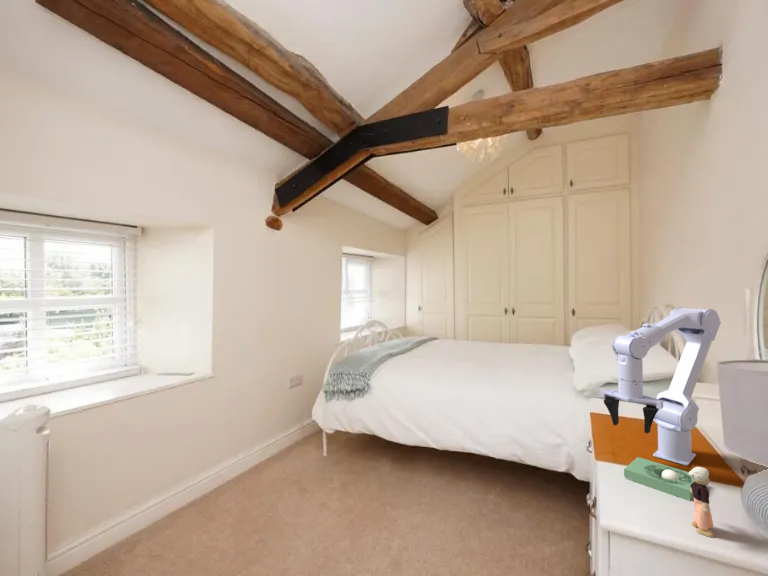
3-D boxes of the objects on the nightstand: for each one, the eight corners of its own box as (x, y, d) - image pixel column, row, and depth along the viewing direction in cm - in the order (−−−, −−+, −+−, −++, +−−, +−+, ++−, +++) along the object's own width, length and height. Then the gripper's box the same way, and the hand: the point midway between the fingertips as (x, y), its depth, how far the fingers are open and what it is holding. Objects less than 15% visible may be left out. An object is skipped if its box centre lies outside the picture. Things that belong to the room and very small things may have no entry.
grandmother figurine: (725, 541, 73) (724, 477, 72) (702, 539, 73) (701, 475, 73) (700, 517, 80) (699, 459, 80) (680, 515, 81) (679, 457, 81)
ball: (684, 479, 92) (668, 475, 96) (677, 468, 92) (661, 464, 95) (679, 490, 91) (663, 486, 94) (672, 479, 91) (656, 475, 94)
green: (637, 465, 103) (637, 456, 103) (700, 485, 92) (700, 475, 92) (624, 478, 97) (624, 469, 97) (689, 500, 86) (689, 490, 86)
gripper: (596, 377, 106) (596, 424, 106) (657, 387, 95) (657, 440, 95) (606, 372, 110) (606, 418, 111) (665, 382, 99) (666, 432, 99)
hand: (631, 428), depth 103 cm, fingers open, 7 cm apart
